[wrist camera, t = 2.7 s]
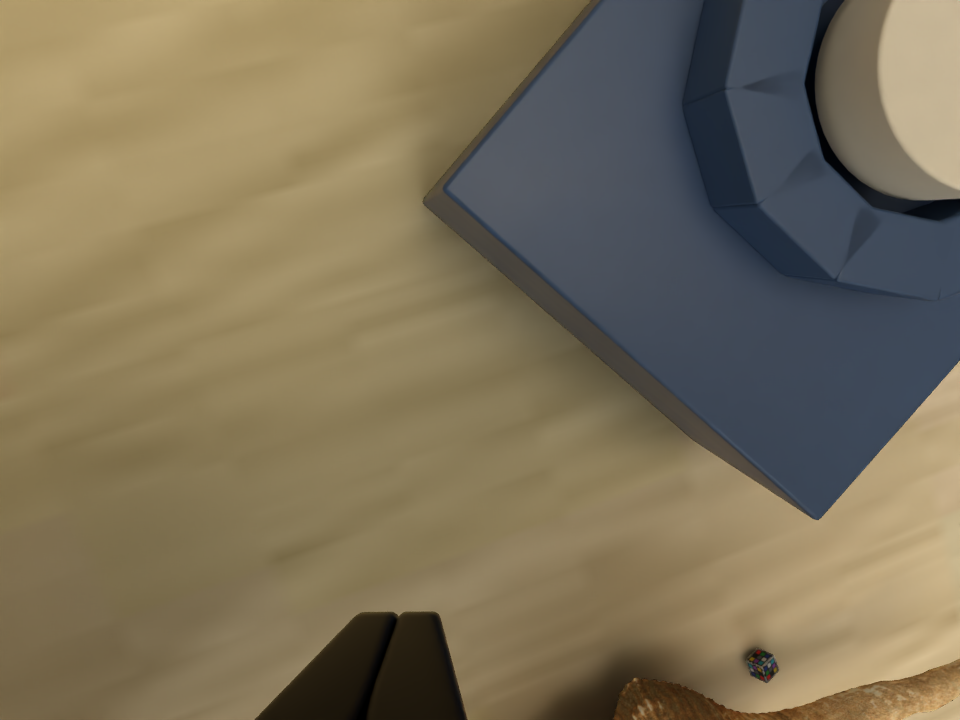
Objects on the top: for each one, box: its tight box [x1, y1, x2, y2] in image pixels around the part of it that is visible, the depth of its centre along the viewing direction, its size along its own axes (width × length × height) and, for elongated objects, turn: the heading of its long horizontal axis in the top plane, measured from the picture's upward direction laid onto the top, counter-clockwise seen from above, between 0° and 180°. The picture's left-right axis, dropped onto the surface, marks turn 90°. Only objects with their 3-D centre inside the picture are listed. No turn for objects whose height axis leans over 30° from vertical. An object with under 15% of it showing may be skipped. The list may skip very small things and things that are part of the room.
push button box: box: [423, 0, 960, 520], centre depth 17 cm, size 12×9×8 cm
